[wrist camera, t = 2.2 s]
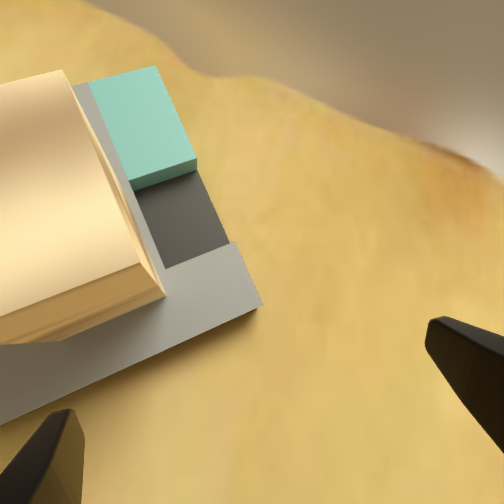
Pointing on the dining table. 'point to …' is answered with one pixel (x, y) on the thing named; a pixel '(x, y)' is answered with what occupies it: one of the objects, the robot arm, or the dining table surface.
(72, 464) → the robot arm
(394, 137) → the dining table surface
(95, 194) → the maple block
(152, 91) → the mint green slab
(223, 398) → the dining table surface
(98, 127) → the board
